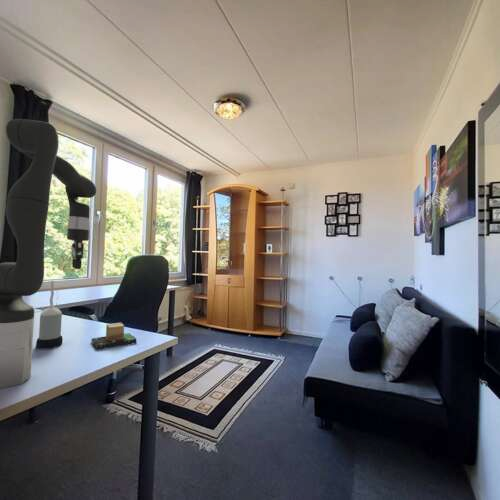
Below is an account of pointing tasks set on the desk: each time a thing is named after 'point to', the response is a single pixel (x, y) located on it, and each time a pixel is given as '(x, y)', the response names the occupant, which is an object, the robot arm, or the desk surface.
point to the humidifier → (50, 326)
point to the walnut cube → (115, 331)
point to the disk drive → (112, 342)
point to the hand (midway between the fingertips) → (76, 268)
